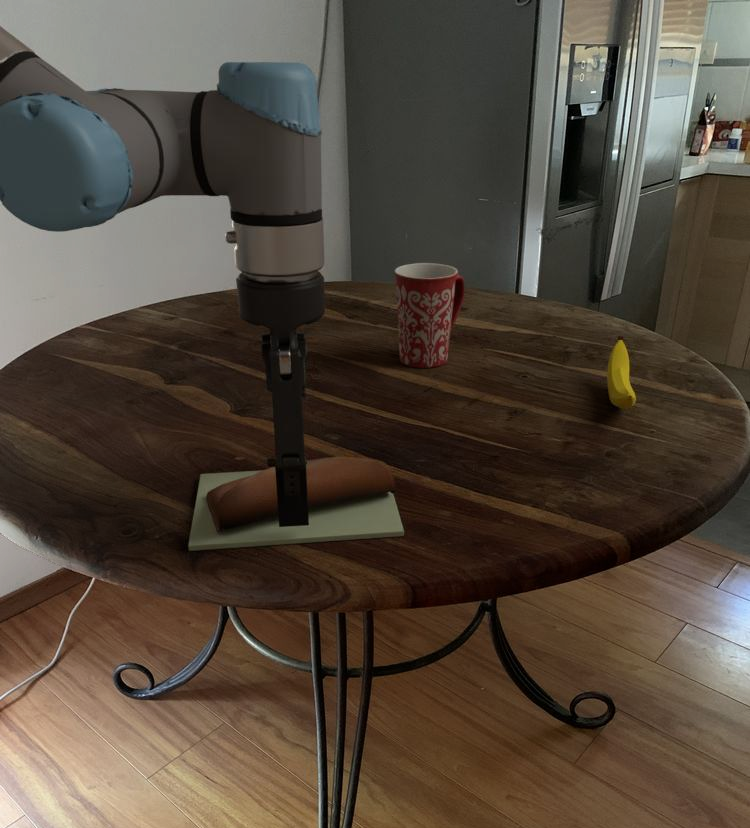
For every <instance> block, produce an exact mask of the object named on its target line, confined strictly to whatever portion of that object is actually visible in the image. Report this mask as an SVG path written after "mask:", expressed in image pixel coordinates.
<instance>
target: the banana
mask: <svg viewBox="0 0 750 828" xmlns="http://www.w3.org/2000/svg"><path fill="white" fill-rule="evenodd" d="M624 339H625V337H624V336H623V335H618V336H617V342H616V344H615V345H614V346H613V348H612V350H611V351H610V354H609V355H610V356H609V359H608V364H607V374H606V375H607V376H606V380H607V392H608V397H609V400H610V403H611V404H612V405H613V406H615V407H617V408H618V409H621V410H626V409H631V408H633V406H634V405H635V404H636V401H637V398H636V397H637V396H636V393H635V391H634V390H633V387H632V385H631V382H630V358H629V353H628V349H627V347H626V344H625V342H624V341H623V340H624Z"/></svg>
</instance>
